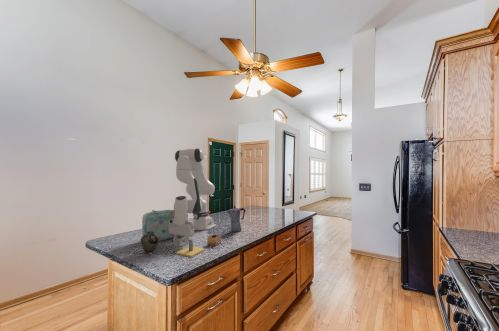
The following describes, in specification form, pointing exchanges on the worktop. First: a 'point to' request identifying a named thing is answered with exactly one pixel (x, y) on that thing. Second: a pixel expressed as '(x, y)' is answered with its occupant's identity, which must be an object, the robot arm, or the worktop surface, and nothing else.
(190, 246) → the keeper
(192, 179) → the robot arm
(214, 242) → the brown rounded piece
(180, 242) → the link
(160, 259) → the worktop surface
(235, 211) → the moka pot
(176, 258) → the worktop surface
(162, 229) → the lunch box
